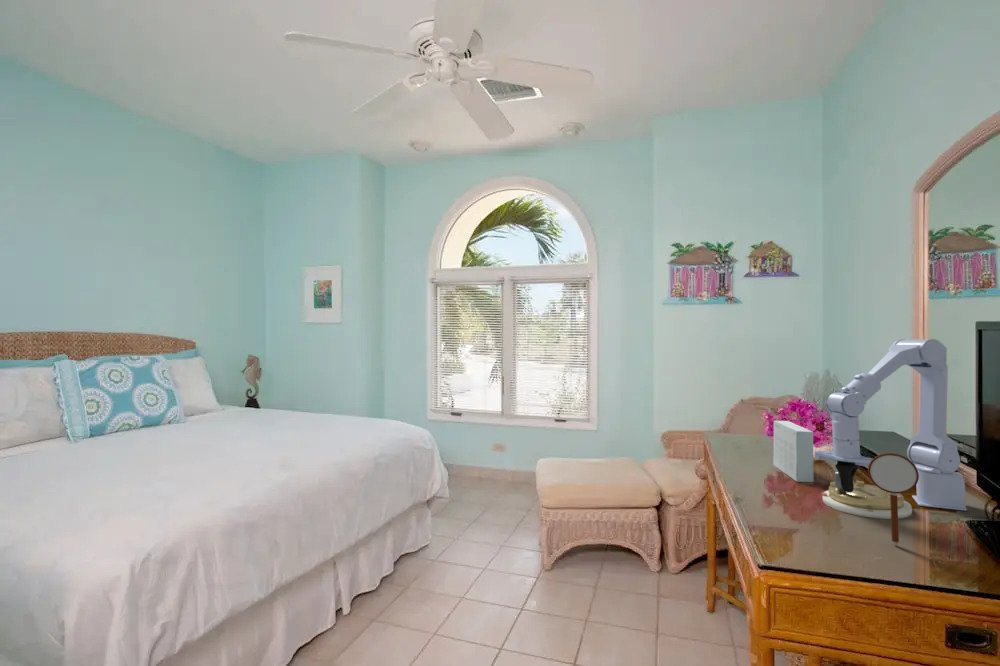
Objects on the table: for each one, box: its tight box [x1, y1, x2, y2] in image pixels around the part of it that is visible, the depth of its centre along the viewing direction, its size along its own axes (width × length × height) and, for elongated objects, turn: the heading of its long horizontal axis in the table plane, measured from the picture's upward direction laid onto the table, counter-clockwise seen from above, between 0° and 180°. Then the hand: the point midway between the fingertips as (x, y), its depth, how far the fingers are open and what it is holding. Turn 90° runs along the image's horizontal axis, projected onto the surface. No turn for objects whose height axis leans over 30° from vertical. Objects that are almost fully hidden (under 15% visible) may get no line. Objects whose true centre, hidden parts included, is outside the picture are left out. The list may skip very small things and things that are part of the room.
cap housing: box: [821, 489, 913, 520], centre depth 130 cm, size 19×19×2 cm
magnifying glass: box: [867, 452, 919, 547], centre depth 106 cm, size 9×2×20 cm, turn 57°
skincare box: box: [772, 420, 814, 483], centre depth 162 cm, size 21×6×16 cm, turn 168°
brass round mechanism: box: [828, 470, 905, 510], centre depth 130 cm, size 16×16×7 cm
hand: (848, 491), depth 128 cm, fingers closed
